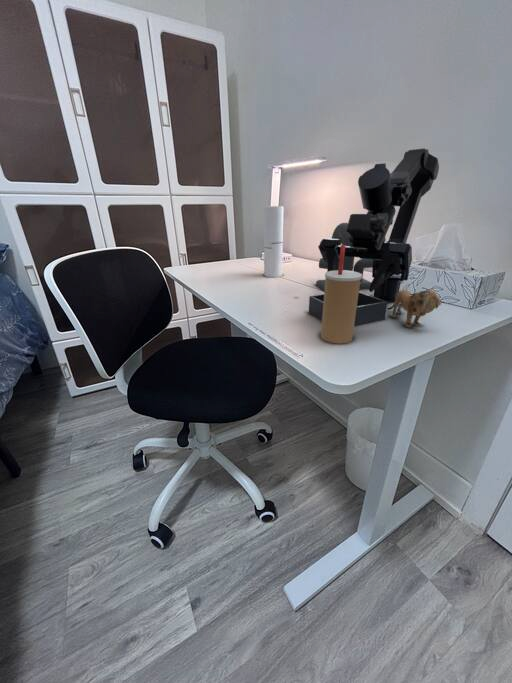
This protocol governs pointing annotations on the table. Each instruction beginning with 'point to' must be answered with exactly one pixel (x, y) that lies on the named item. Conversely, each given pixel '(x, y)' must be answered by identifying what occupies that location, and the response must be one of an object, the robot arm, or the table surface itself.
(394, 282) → the robot arm
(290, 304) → the table surface
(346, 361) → the table surface
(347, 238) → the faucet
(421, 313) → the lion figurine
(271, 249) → the cylindrical container
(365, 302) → the bin
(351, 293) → the takeaway cup
